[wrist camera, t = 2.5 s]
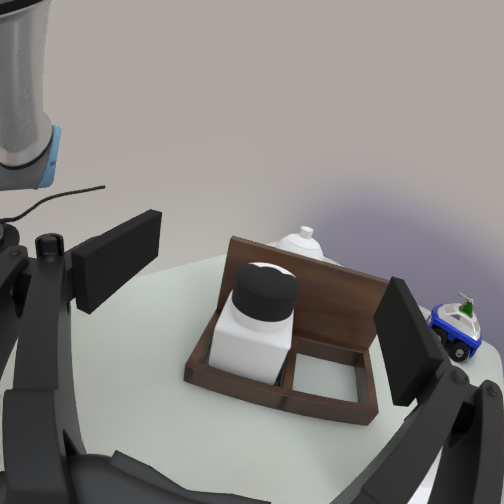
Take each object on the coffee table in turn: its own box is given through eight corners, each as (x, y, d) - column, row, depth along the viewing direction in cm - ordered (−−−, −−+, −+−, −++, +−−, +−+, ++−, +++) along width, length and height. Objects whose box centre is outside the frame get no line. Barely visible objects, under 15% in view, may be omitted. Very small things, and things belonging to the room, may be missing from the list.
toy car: (426, 318, 48) (448, 277, 45) (471, 346, 41) (496, 306, 38) (416, 337, 42) (442, 291, 38) (468, 369, 35) (498, 325, 31)
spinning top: (317, 304, 46) (342, 237, 41) (285, 316, 41) (309, 241, 36) (286, 281, 51) (305, 217, 46) (253, 289, 46) (270, 218, 41)
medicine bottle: (271, 394, 28) (308, 304, 23) (205, 376, 28) (223, 281, 23) (277, 351, 34) (308, 266, 29) (221, 335, 35) (240, 248, 30)
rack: (367, 425, 25) (429, 345, 20) (183, 380, 27) (194, 283, 22) (359, 357, 35) (399, 283, 31) (215, 319, 37) (232, 235, 33)
